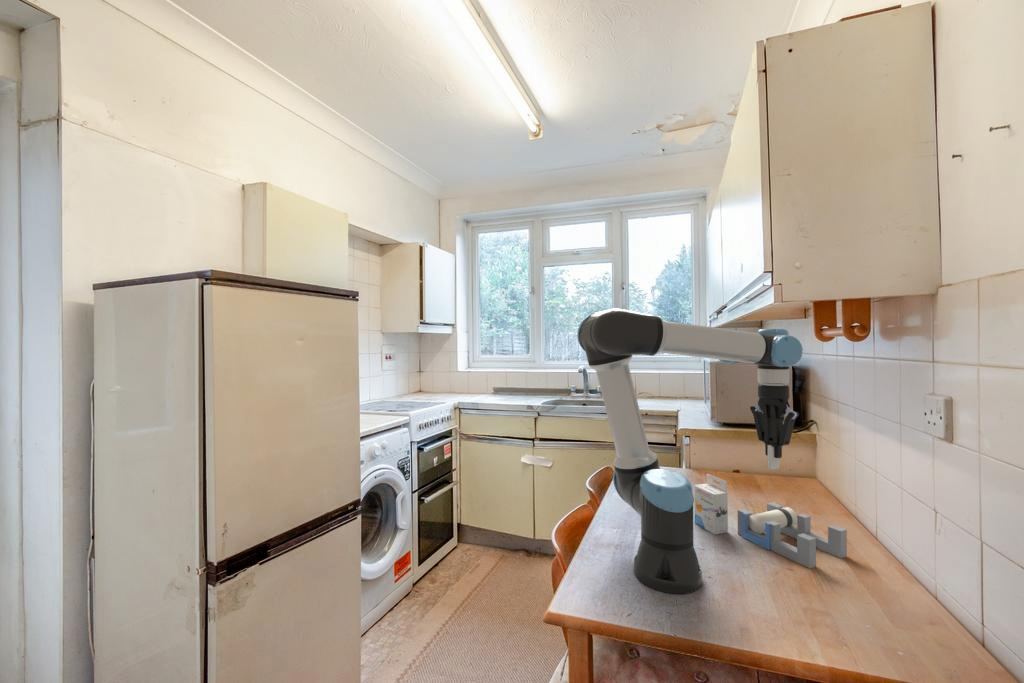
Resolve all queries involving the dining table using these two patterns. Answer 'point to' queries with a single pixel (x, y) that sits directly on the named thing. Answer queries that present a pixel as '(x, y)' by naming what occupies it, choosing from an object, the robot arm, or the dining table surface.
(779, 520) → the banded white cylinder
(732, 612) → the dining table surface
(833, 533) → the bracket
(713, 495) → the ink box
